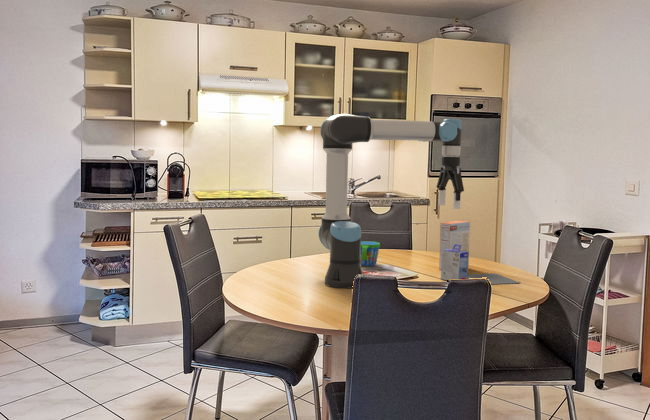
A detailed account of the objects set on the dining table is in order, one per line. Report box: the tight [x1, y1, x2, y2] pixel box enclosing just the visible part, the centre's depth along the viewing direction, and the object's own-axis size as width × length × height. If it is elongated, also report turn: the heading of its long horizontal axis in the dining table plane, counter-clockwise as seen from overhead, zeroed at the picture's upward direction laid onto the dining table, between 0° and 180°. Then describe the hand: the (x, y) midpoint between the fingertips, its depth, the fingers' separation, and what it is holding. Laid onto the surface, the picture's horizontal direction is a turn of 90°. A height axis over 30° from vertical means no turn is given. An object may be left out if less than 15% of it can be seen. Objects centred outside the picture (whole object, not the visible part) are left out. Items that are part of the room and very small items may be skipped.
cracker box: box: [438, 220, 471, 271], centre depth 260 cm, size 14×6×21 cm, turn 130°
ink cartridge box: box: [440, 244, 470, 281], centre depth 236 cm, size 10×6×14 cm, turn 36°
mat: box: [467, 272, 521, 285], centre depth 240 cm, size 20×18×1 cm
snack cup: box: [360, 240, 381, 267], centre depth 265 cm, size 16×10×10 cm
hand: (448, 207), depth 250 cm, fingers open, 13 cm apart
